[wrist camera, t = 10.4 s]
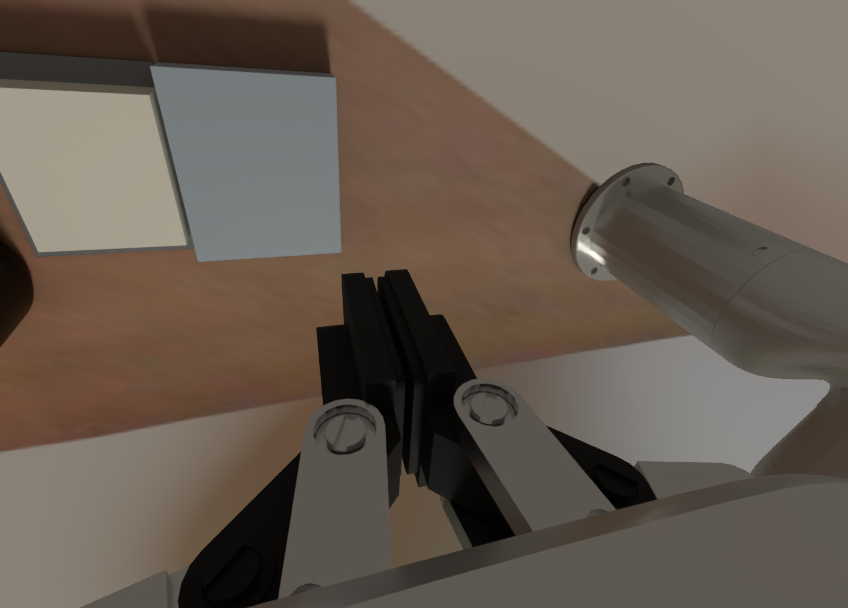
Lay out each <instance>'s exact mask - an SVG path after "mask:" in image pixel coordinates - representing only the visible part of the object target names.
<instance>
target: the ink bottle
mask: <svg viewBox="0 0 848 608" xmlns="http://www.w3.org/2000/svg"><path fill="white" fill-rule="evenodd" d="M33 296H34V291H33V284H32V281H31V278H30V276H29V274H28V272H27V270H26V268H25V267H24V265H23V264H22V262H21V261H20V260H19V259H18V258H17V256H16V255H15V254H14V253H13V252H12V251H11V250H10V249H8V248H7V247H6V246H5V245H3V244H2V243H1V242H0V347H1V346H2V345H3V343H4V342H5V341H6V340H7V338H8V337H9V336H10V335H11V333H12V332H13V331H14V330H15V328H16V327H17V326H18V325H19V323H20V322H21V321H22V320H23V318H24V317H25V316H26V314H27V313H28V311H29V310H30V308H31V305H32V302H33Z"/></svg>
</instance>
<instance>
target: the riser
mask: <svg viewBox="0 0 848 608" xmlns="http://www.w3.org/2000/svg"><path fill="white" fill-rule="evenodd" d="M150 69H151V73H152V77H153V81H154V85H155V89H156V93H157V97H158V101H159V105H160V109H161V114H162V118H163V122H164V126H165V130H166V134H167V138H168V142H169V146H170V150H171V154H172V158H173V162H174V166H175V170H176V174H177V178H178V182H179V186H180V190H181V194H182V198H183V202H184V206H185V210H186V214H187V219H188V223H189V227H190V231H191V235H192V239H193V243H194V247H195V251H196V255H197V259H198V262H201V261H217V260H232V259H248V258H264V257H279V256H295V255H311V254H326V253H341V231H340V198H339V165H338V131H337V98H336V77H334V76H333V75H332V74H331V73H317V72H302V71H287V70H272V69H256V68H241V67H226V66H211V65H196V64H180V63H165V62H158V63H156V64H153V65H151V66H150Z"/></svg>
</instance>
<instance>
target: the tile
mask: <svg viewBox="0 0 848 608" xmlns="http://www.w3.org/2000/svg"><path fill="white" fill-rule="evenodd" d="M0 172H1V174H2V176H3V179H4V181H5V183H6V185H7V187H8V189H9V191H10V193H11V195H12V197H13V200H14V202H15V204H16V206H17V208H18V210H19V212H20V214H21V216H22V218H23V221H24V223H25V225H26V227H27V229H28V231H29V233H30V235H31V237H32V240H33V242H34V244H35V246H36V248H37V250H38V252H56V251H77V250H98V249H119V248H140V247H161V246H182V245H187V243H188V240H189V237H190V234H191V231H190V227H189V223H188V219H187V214H186V210H185V206H184V202H183V198H182V194H181V190H180V186H179V182H178V178H177V174H176V170H175V166H174V162H173V158H172V154H171V150H170V146H169V142H168V138H167V134H166V130H165V126H164V122H163V118H162V114H161V109H160V105H159V101H158V97H157V93H156V89H155V87H139V86H121V85H103V84H85V83H67V82H49V81H31V80H12V79H0Z"/></svg>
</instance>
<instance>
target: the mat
mask: <svg viewBox="0 0 848 608" xmlns="http://www.w3.org/2000/svg"><path fill="white" fill-rule="evenodd" d="M153 64H154V63H153V62H150V61H135V60H120V59H105V58H89V57H74V56H59V55H44V54H29V53H13V52H0V79H12V80H31V81H49V82H67V83H85V84H103V85H121V86H139V87H155V85H154V81H153V77H152V73H151V69H150V66H151V65H153ZM0 182H1V184H2V186H3V188H4V190H5V192H6V194H7V196H8V199H9V201H10V203H11V205H12V207H13V209H14V211H15V213H16V215H17V217H18V219H19V221H20V223H21V225H22V227H23V229H24V231H25V233H26V235H27V237H28V239H29V241H30V244H31V246H32V248H33V250H34V252H35V254H36V256H37V257H46V256H64V255H83V254H101V253H119V252H137V251H155V250H173V249H192V248H195V247H194V243H193V239H192V235H191V234H190V237H189V240H188V243H187V245H182V246H161V247H140V248H119V249H98V250H77V251H56V252H38V250H37V248H36V246H35V244H34V242H33V240H32V237H31V235H30V233H29V231H28V229H27V227H26V225H25V223H24V221H23V218H22V216H21V214H20V212H19V210H18V208H17V206H16V204H15V202H14V200H13V197H12V195H11V193H10V191H9V189H8V187H7V185H6V183H5V181H4V179H3V176H2V174H1V172H0Z"/></svg>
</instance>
